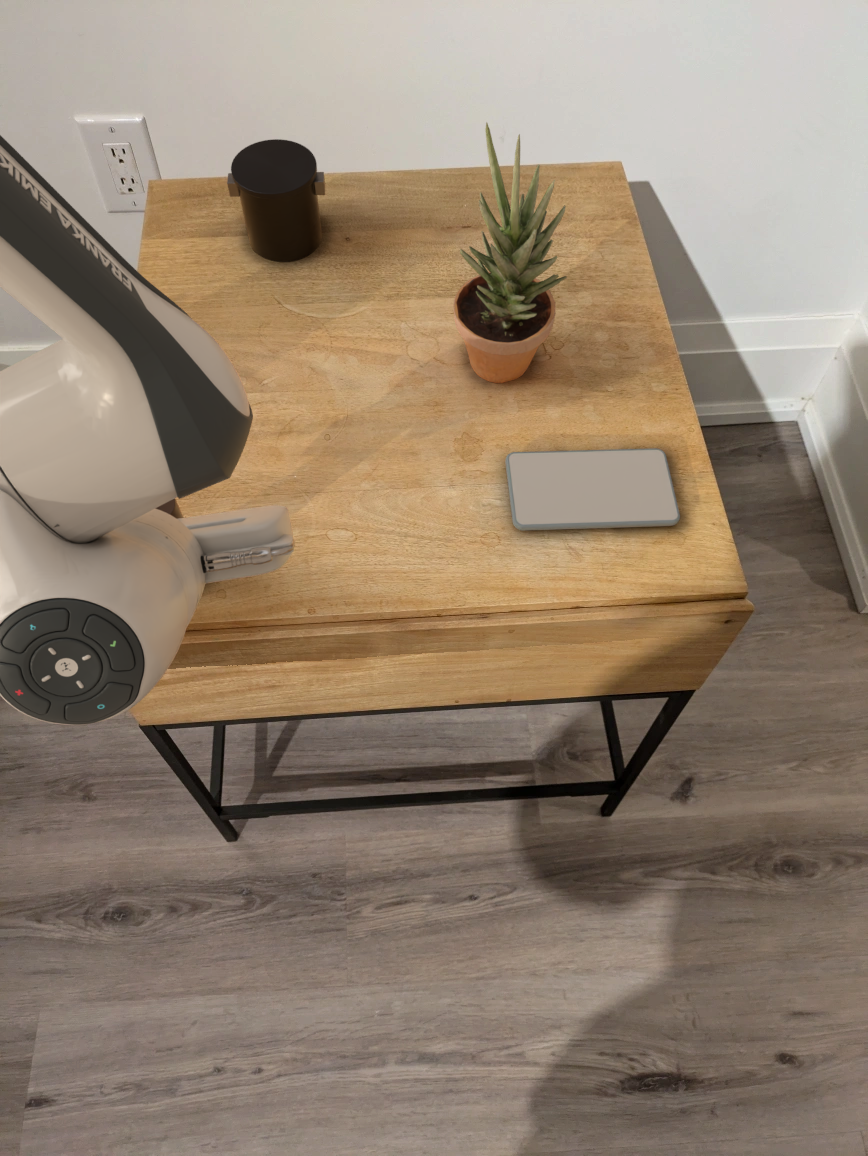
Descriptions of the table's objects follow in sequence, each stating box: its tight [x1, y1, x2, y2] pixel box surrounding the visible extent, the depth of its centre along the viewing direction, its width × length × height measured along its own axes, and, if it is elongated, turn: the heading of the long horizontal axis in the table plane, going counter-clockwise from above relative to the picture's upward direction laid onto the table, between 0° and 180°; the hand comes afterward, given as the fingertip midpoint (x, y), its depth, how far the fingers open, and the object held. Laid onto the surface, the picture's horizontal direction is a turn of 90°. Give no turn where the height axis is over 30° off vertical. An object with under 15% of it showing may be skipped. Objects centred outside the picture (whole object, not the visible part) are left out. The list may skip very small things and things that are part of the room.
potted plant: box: [453, 121, 568, 384], centre depth 74 cm, size 10×10×25 cm
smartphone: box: [504, 447, 681, 531], centre depth 77 cm, size 8×1×15 cm
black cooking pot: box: [226, 138, 326, 263], centre depth 89 cm, size 10×9×9 cm
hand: (168, 530), depth 68 cm, fingers open, 8 cm apart
